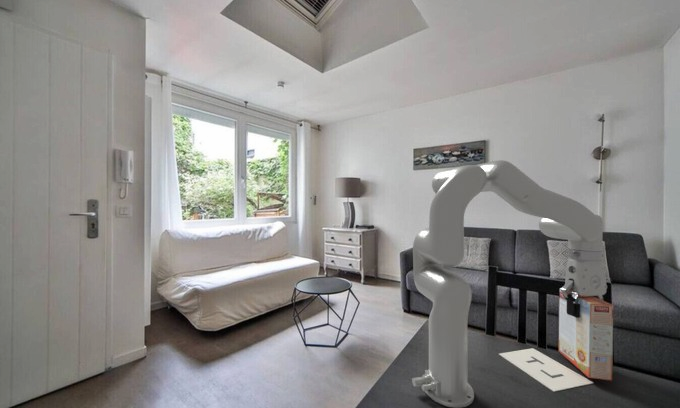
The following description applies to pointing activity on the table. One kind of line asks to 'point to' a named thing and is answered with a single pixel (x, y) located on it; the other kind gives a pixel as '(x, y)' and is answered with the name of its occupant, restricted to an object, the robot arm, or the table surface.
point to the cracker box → (588, 336)
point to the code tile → (545, 369)
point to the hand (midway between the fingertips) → (584, 314)
